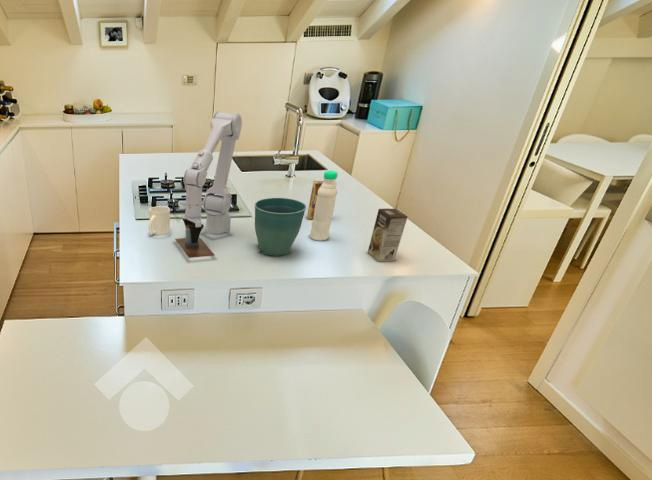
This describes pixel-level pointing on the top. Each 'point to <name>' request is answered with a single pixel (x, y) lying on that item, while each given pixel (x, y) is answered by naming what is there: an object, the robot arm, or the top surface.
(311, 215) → the candy box
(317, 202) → the water bottle
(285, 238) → the flower pot
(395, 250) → the coffee box
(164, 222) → the mug
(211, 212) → the robot arm
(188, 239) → the sugar pot
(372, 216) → the top surface
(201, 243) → the cutting board
